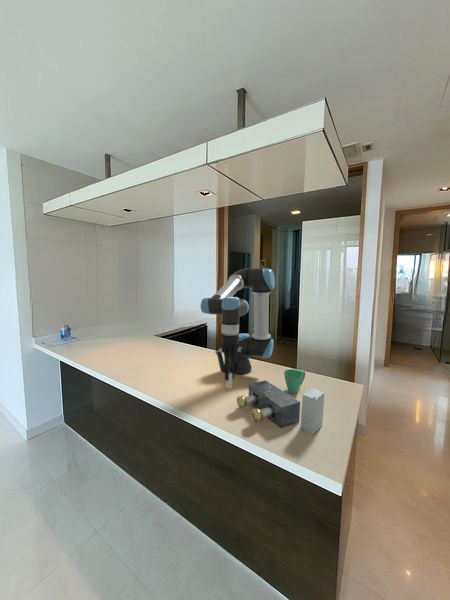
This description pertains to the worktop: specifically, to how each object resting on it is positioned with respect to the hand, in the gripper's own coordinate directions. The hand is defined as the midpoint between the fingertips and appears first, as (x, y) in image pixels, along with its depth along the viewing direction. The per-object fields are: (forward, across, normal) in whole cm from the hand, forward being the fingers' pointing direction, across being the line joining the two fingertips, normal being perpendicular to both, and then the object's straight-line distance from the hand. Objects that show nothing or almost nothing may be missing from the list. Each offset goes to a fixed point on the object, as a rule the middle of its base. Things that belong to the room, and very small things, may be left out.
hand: (229, 386), depth 113 cm
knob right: (+11, +12, -12) cm, 20 cm away
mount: (+13, +19, -6) cm, 24 cm away
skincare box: (+13, +26, -23) cm, 37 cm away
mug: (+13, +44, +6) cm, 47 cm away
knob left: (+11, +12, 0) cm, 16 cm away
